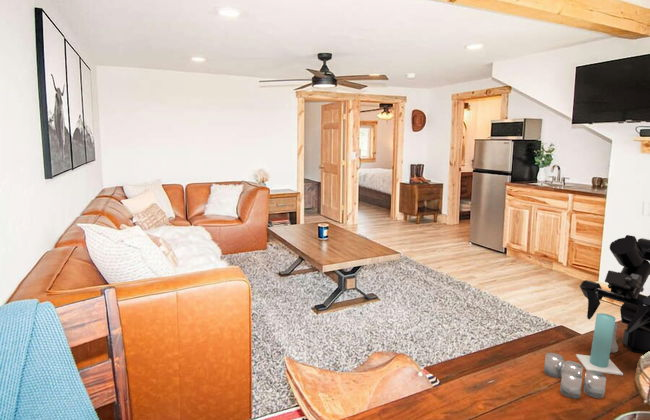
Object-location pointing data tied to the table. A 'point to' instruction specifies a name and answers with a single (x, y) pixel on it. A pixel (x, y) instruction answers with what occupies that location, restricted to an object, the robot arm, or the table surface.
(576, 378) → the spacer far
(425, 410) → the table surface
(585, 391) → the block
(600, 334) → the teal post
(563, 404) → the table surface
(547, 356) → the spacer
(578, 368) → the spacer
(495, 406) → the table surface
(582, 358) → the grey mat
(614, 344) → the rook chess piece
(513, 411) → the table surface
